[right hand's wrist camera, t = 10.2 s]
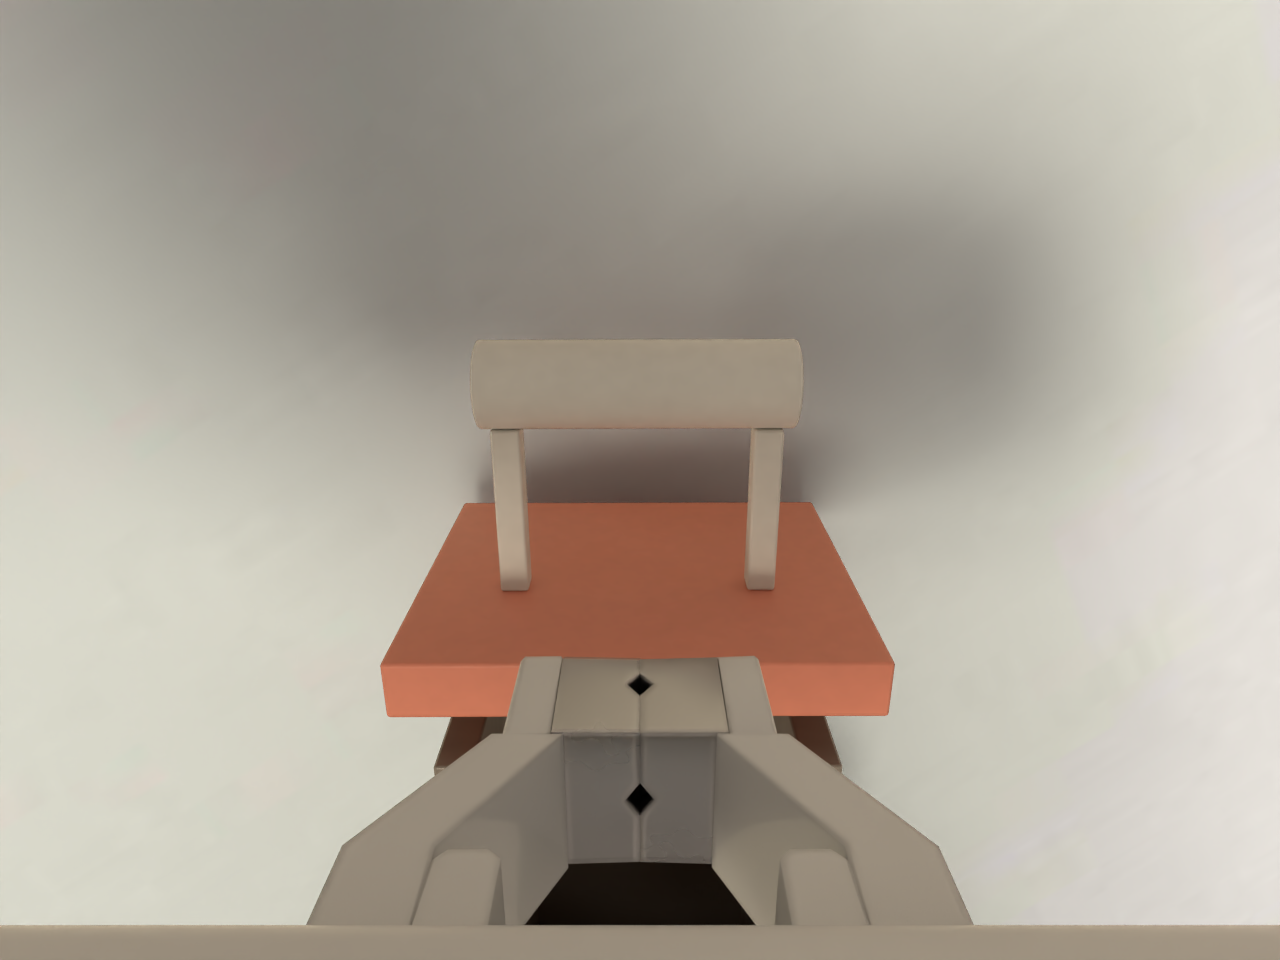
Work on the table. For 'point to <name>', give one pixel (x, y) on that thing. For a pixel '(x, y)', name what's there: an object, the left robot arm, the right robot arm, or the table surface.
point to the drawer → (637, 578)
